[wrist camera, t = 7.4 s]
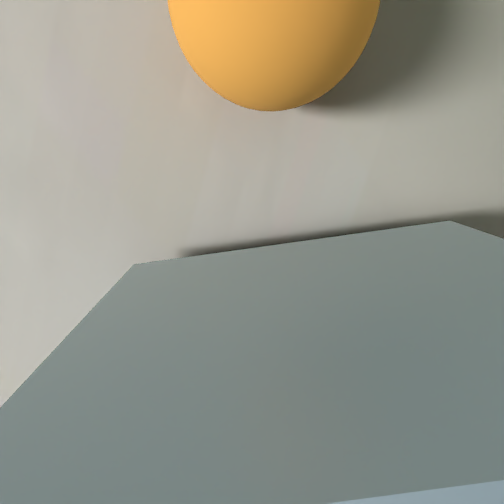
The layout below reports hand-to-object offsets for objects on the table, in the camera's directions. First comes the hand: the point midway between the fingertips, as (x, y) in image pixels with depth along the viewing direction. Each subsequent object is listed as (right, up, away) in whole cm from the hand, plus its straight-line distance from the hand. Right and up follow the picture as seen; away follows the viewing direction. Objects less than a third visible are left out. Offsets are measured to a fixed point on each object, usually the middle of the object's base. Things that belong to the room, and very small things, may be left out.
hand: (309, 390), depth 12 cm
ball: (-1, +11, -3) cm, 11 cm away
